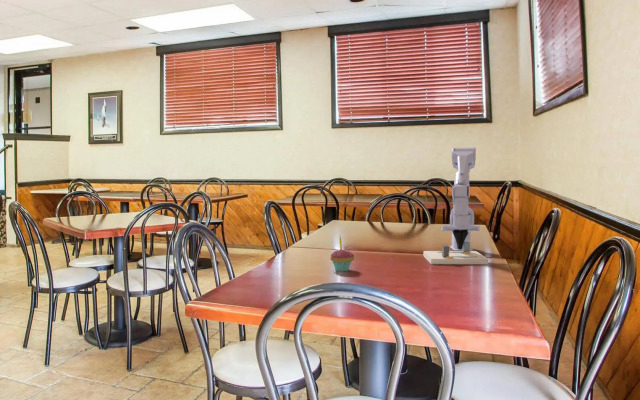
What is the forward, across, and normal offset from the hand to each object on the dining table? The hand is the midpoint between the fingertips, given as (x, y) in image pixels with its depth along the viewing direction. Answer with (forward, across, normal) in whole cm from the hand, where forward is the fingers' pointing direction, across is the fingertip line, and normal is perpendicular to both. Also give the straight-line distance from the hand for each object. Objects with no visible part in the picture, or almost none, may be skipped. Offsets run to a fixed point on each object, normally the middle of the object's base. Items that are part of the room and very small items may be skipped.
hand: (459, 248), depth 183 cm
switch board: (+3, -3, -5) cm, 7 cm away
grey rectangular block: (+1, +2, 0) cm, 3 cm away
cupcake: (+4, -47, -22) cm, 52 cm away
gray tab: (+1, -8, -9) cm, 12 cm away
